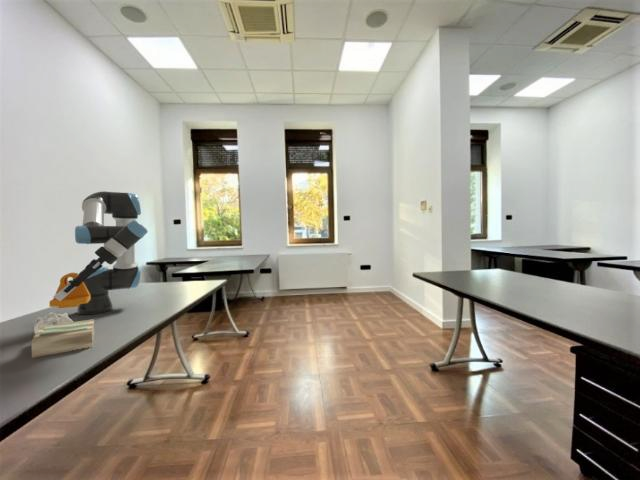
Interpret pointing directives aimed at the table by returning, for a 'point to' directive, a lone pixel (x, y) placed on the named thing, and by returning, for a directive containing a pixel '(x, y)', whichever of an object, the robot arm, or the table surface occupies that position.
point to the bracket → (71, 294)
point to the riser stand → (63, 338)
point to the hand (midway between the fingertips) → (58, 296)
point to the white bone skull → (51, 320)
